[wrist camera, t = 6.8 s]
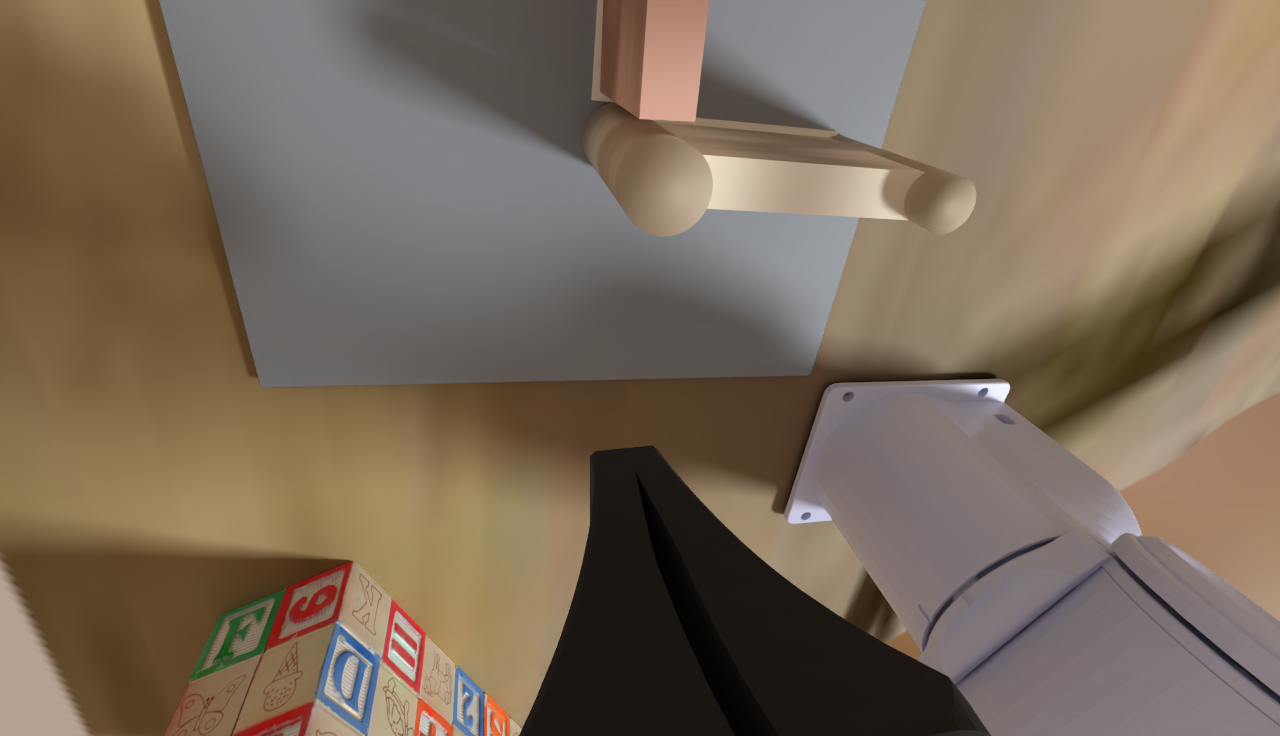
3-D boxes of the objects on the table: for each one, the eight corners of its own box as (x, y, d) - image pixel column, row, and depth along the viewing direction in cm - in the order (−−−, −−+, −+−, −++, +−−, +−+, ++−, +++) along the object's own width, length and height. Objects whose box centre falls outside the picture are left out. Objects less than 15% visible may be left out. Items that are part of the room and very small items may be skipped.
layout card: (970, -172, 15) (983, -177, 15) (806, 370, 24) (811, 376, 23) (61, -411, 10) (43, -428, 10) (265, 380, 19) (259, 389, 18)
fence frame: (859, 126, 18) (996, 167, 13) (842, 189, 19) (962, 249, 14) (584, 99, 16) (626, 136, 11) (579, 171, 17) (616, 234, 12)
